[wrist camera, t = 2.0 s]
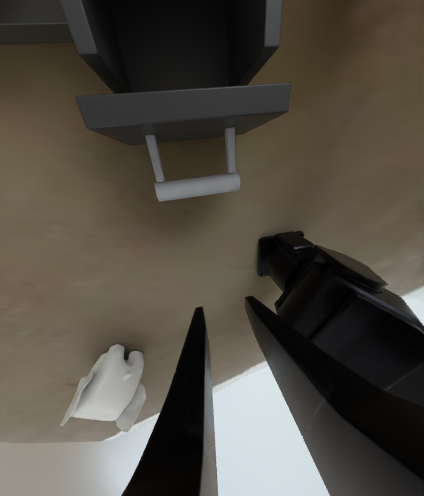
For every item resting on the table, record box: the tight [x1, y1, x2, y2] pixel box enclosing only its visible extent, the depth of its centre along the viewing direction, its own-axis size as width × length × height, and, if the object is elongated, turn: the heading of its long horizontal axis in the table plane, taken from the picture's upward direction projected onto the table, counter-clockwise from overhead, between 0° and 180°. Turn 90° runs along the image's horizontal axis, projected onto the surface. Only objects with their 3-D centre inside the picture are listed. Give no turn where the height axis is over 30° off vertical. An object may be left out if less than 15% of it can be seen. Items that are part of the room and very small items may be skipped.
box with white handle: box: [60, 0, 291, 201], centre depth 9 cm, size 17×10×7 cm, turn 6°
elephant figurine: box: [60, 344, 146, 432], centre depth 24 cm, size 10×12×9 cm
